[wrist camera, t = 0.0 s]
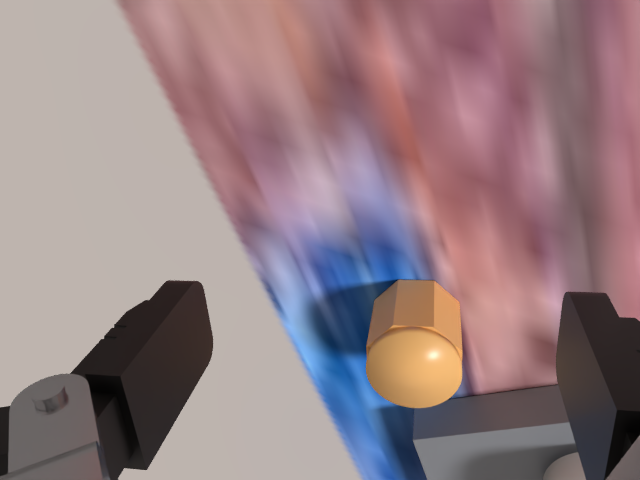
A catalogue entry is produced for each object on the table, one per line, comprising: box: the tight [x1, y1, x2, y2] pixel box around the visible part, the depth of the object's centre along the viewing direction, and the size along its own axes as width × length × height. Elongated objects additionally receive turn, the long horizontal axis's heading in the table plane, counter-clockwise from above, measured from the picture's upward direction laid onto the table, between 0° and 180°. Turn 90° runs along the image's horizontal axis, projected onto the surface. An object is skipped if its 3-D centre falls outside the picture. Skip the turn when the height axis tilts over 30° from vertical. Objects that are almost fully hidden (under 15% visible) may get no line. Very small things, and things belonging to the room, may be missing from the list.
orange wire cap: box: [366, 280, 462, 408], centre depth 31 cm, size 5×5×5 cm
